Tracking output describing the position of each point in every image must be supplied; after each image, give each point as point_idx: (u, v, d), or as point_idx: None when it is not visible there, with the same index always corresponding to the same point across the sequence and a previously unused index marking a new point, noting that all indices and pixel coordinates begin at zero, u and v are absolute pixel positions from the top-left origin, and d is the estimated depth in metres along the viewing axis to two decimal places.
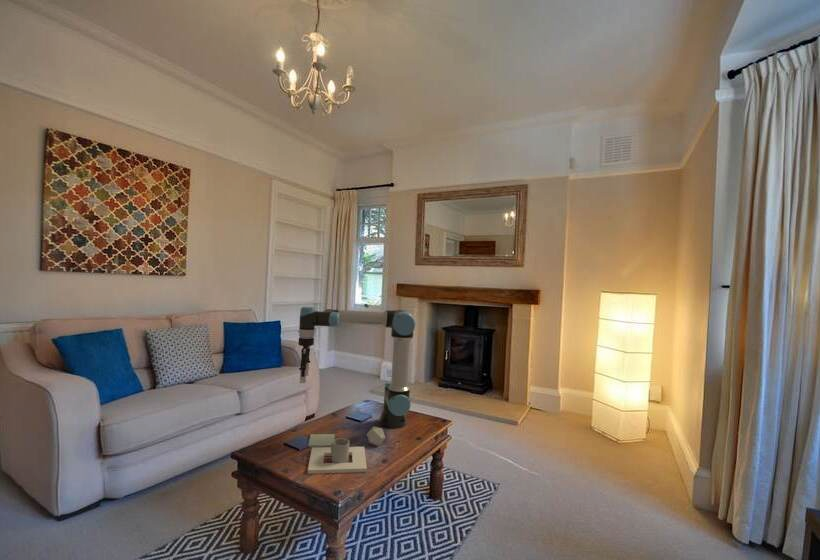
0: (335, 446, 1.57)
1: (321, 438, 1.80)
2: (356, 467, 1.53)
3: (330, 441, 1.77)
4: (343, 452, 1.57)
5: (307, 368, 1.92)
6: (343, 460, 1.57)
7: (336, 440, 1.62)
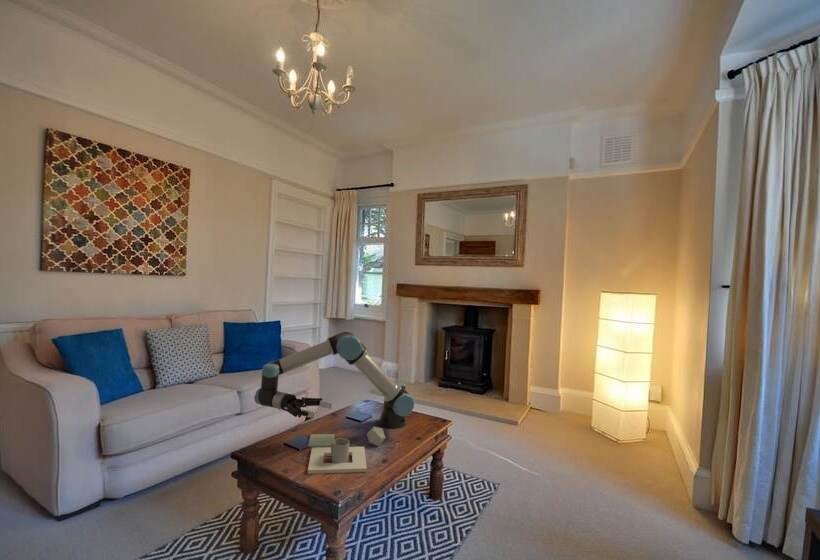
0: (335, 446, 1.57)
1: (321, 438, 1.80)
2: (356, 467, 1.53)
3: (330, 441, 1.77)
4: (343, 452, 1.57)
5: (324, 402, 1.71)
6: (343, 460, 1.57)
7: (336, 440, 1.62)
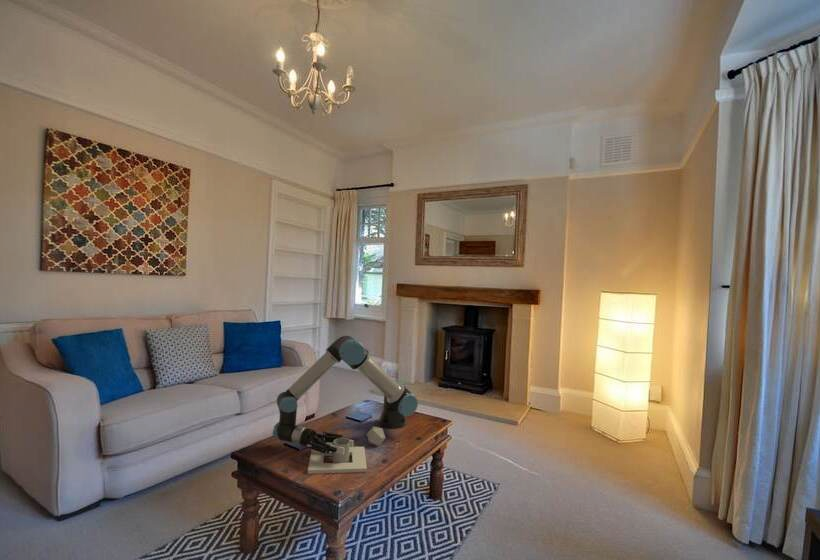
0: None
1: None
2: (356, 467, 1.53)
3: None
4: (344, 452, 1.57)
5: None
6: (344, 459, 1.57)
7: (336, 440, 1.62)
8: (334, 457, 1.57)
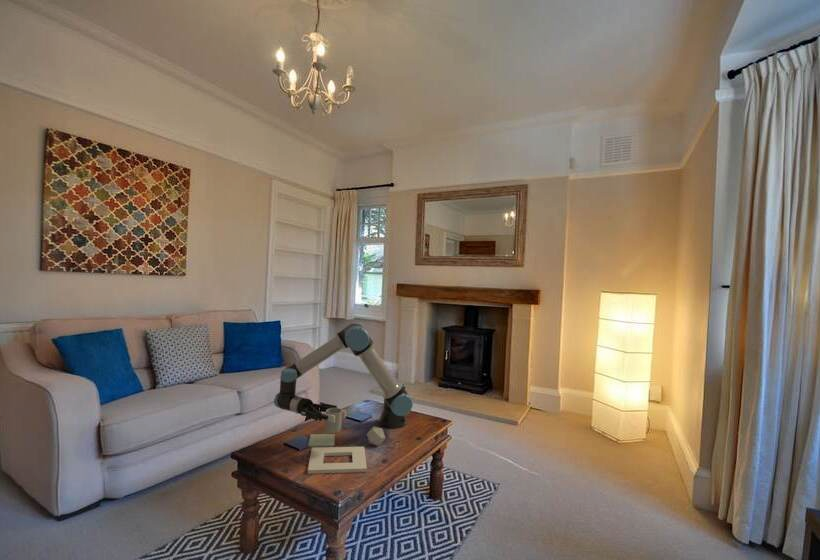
0: None
1: (321, 438, 1.80)
2: (356, 467, 1.53)
3: (330, 441, 1.77)
4: (335, 420, 1.64)
5: None
6: (335, 427, 1.64)
7: (330, 409, 1.69)
8: (326, 425, 1.64)
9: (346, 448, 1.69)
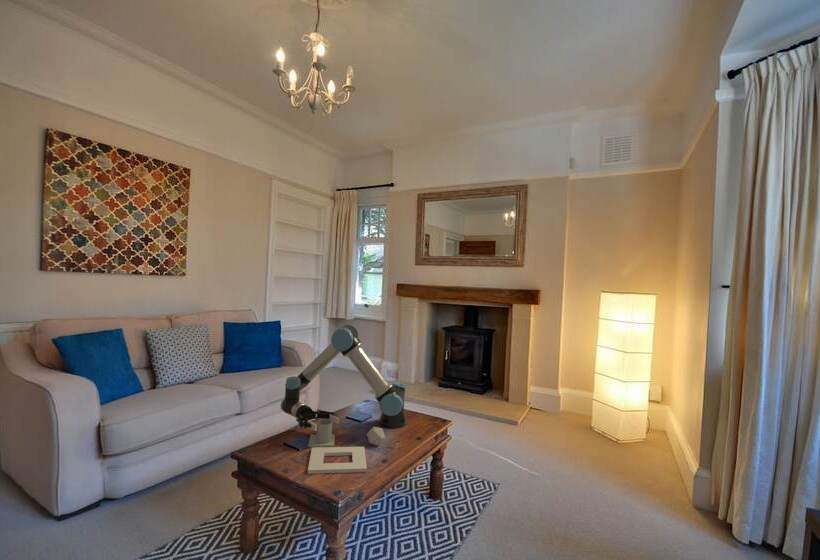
0: (318, 425, 1.76)
1: None
2: (356, 467, 1.53)
3: (330, 441, 1.77)
4: (324, 431, 1.75)
5: (332, 417, 1.84)
6: (324, 438, 1.75)
7: (322, 420, 1.81)
8: (316, 435, 1.76)
9: (346, 448, 1.69)
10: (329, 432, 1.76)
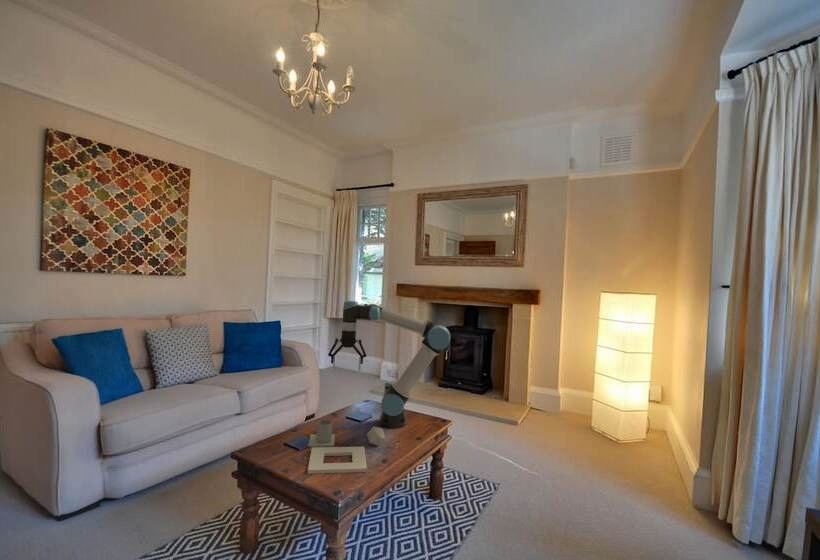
0: (318, 425, 1.76)
1: None
2: (356, 467, 1.53)
3: (330, 441, 1.77)
4: (324, 431, 1.75)
5: (359, 363, 1.95)
6: (324, 438, 1.75)
7: (322, 420, 1.81)
8: (316, 435, 1.76)
9: (346, 448, 1.69)
10: (329, 432, 1.76)
